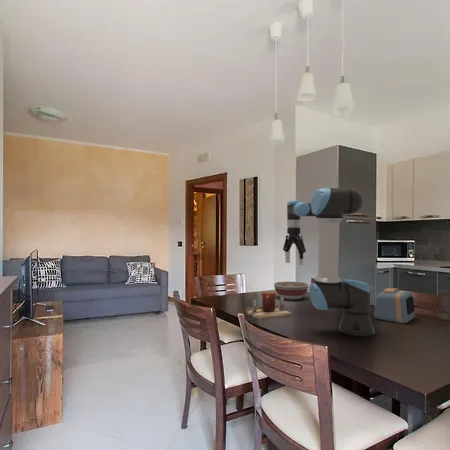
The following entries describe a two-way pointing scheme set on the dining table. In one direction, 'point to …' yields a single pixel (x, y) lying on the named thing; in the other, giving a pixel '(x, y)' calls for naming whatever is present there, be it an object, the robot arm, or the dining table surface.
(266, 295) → the mug
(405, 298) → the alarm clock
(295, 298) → the bowl
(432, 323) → the dining table surface
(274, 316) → the caddy
